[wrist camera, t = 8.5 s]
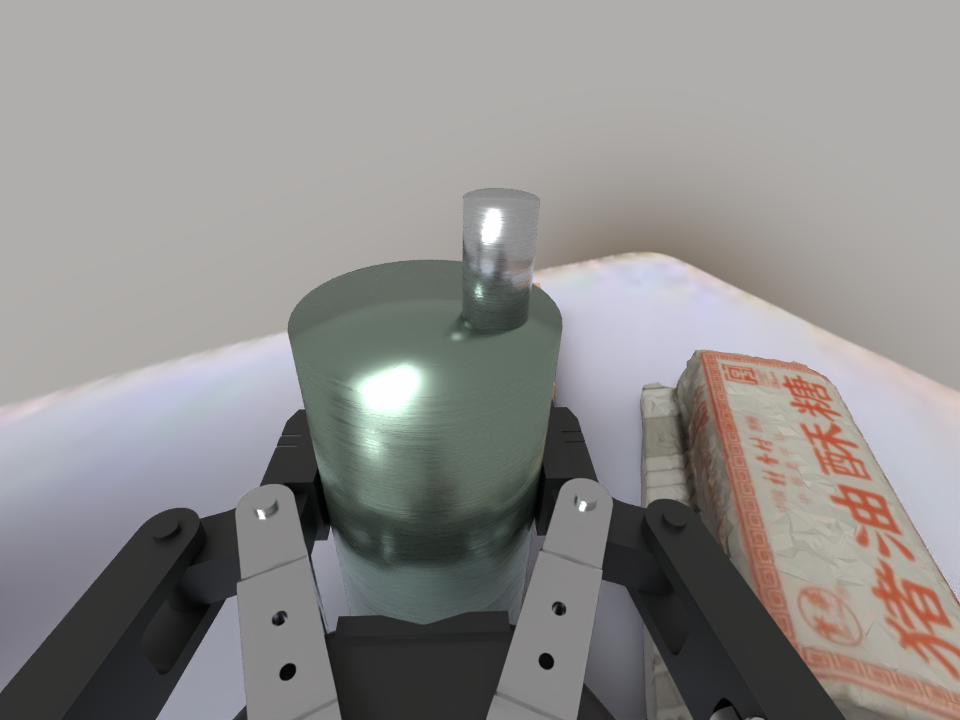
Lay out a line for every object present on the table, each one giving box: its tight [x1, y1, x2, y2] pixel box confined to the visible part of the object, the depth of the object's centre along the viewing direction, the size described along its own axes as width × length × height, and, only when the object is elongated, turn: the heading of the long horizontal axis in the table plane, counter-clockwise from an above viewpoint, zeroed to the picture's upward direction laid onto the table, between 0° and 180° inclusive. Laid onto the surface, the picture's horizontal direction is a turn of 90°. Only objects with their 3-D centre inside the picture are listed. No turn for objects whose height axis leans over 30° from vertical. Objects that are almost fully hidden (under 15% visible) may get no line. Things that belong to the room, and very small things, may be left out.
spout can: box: [288, 188, 562, 625], centre depth 13 cm, size 6×6×14 cm
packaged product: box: [641, 350, 960, 720], centre depth 18 cm, size 18×5×10 cm
